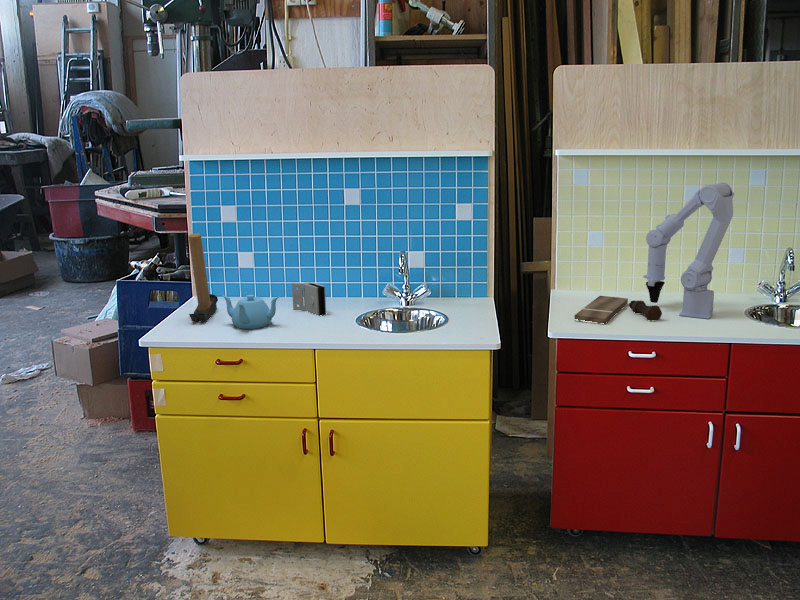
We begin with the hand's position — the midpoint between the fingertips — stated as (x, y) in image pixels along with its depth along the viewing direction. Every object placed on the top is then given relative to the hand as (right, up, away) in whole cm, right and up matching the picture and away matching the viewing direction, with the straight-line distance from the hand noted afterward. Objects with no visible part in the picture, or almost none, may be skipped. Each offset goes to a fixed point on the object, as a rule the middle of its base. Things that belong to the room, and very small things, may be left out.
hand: (654, 302), depth 263 cm
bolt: (-7, -5, -10) cm, 13 cm away
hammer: (-157, -5, -1) cm, 157 cm away
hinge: (-120, -4, +2) cm, 121 cm away
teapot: (-138, -8, -14) cm, 139 cm away
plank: (-20, -3, -5) cm, 21 cm away
